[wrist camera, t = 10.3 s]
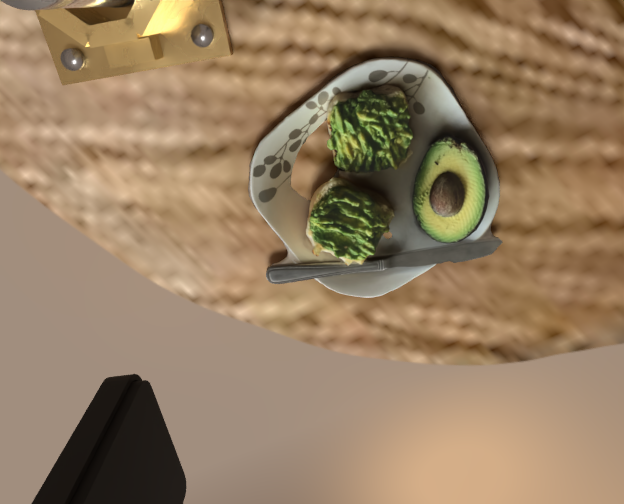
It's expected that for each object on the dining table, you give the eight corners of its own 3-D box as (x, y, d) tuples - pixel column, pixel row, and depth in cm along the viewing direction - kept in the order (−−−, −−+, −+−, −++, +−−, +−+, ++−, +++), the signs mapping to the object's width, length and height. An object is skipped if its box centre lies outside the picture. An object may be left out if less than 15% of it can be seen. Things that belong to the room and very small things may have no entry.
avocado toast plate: (324, 335, 46) (324, 368, 42) (193, 177, 40) (177, 198, 36) (526, 220, 41) (548, 245, 37) (410, 18, 35) (421, 21, 31)
